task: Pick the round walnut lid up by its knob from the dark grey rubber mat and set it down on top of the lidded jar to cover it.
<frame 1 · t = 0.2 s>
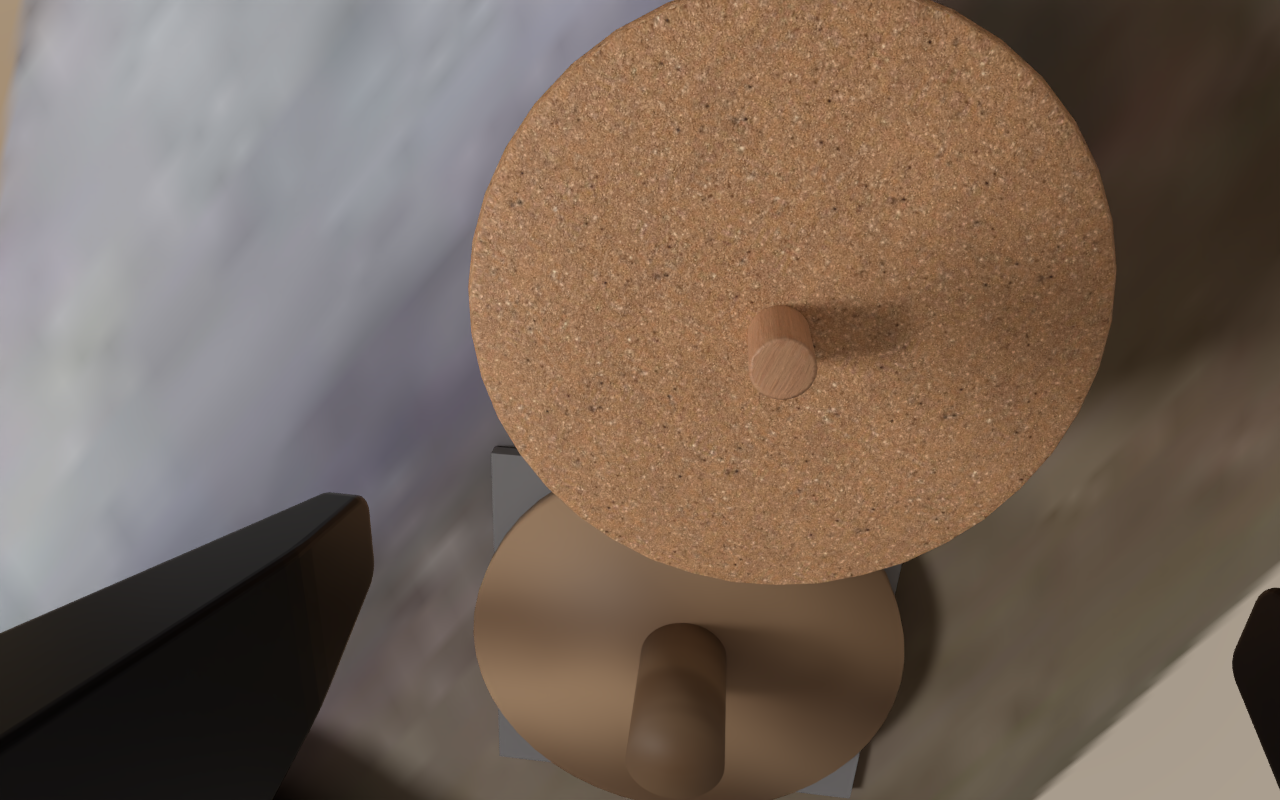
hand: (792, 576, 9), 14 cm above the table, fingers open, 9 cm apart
lid: (685, 639, 27), resting on mat
lidded jar: (764, 220, 21), on the table
mat: (685, 631, 27), on the table
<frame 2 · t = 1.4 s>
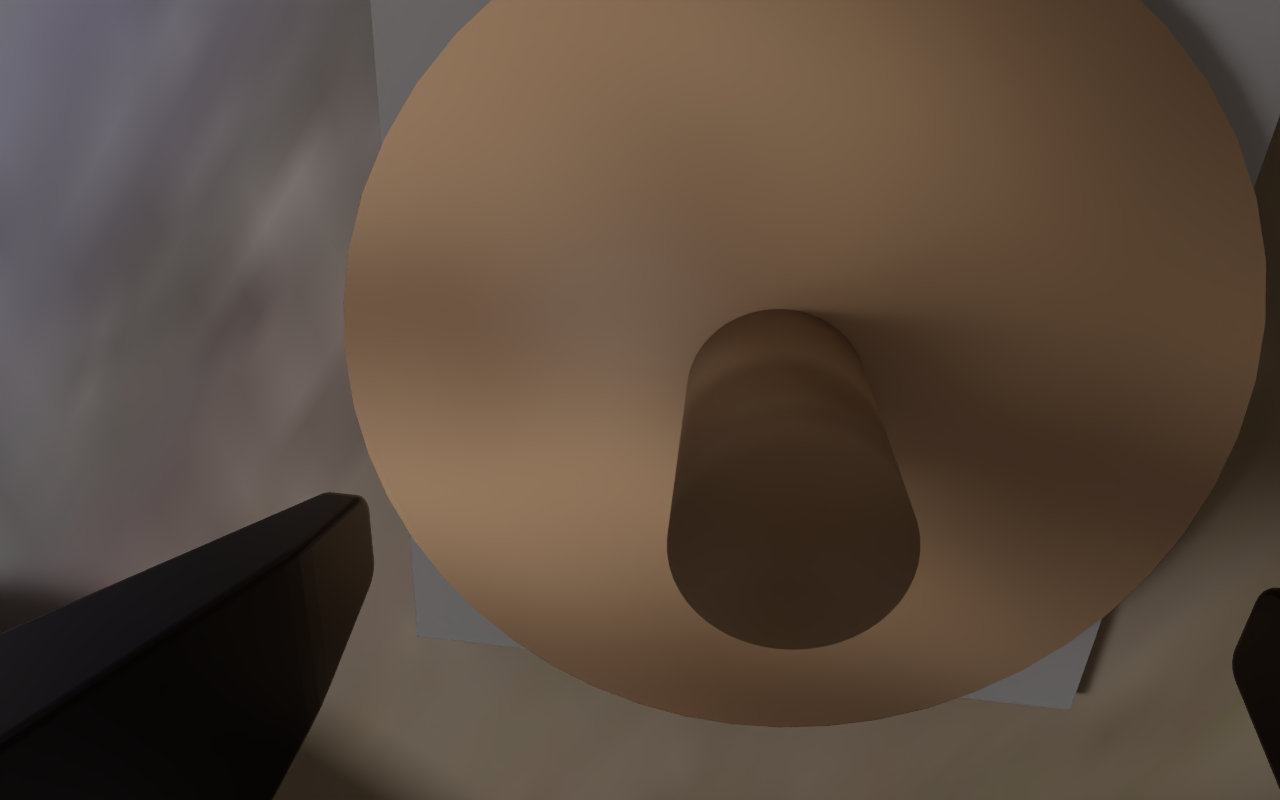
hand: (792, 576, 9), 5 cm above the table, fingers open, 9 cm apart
lid: (773, 372, 13), resting on mat
mat: (772, 363, 14), on the table
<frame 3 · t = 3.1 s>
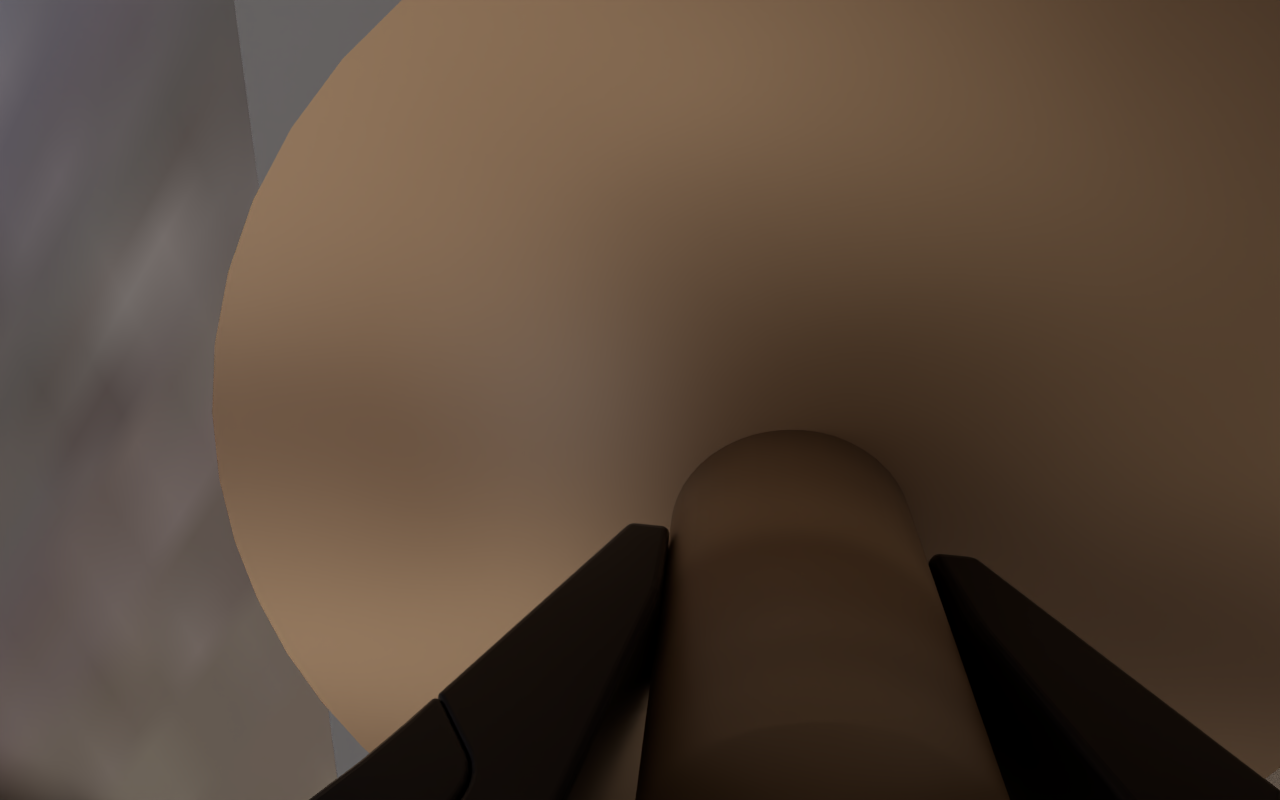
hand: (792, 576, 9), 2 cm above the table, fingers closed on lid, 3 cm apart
lid: (785, 498, 10), resting on mat, touching gripper
mat: (783, 481, 10), on the table
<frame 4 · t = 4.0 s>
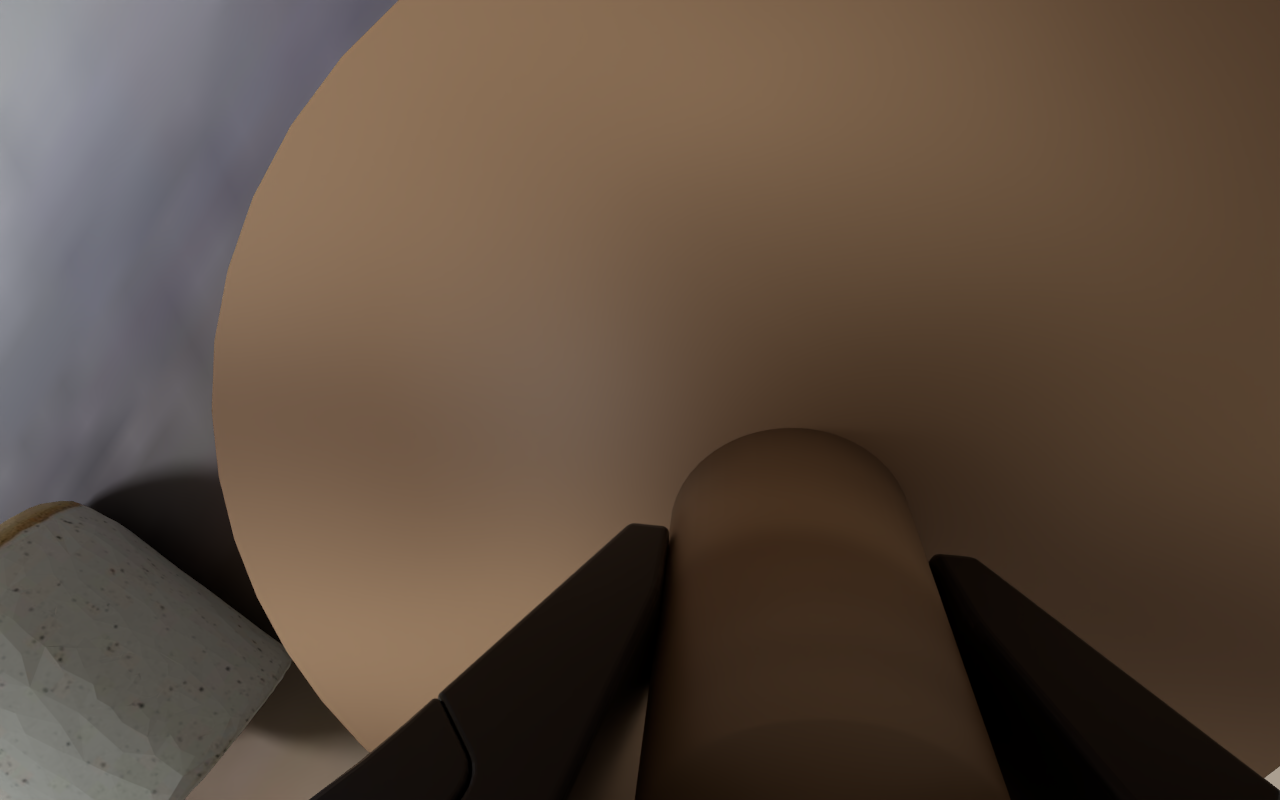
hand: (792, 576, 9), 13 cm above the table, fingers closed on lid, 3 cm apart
lid: (784, 496, 10), point 11 cm above the table, touching gripper
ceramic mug: (154, 622, 27), on the table
when the fingers open (12 cm above the table, at t = 5.2 s): lid stays where it is, resting on lidded jar.
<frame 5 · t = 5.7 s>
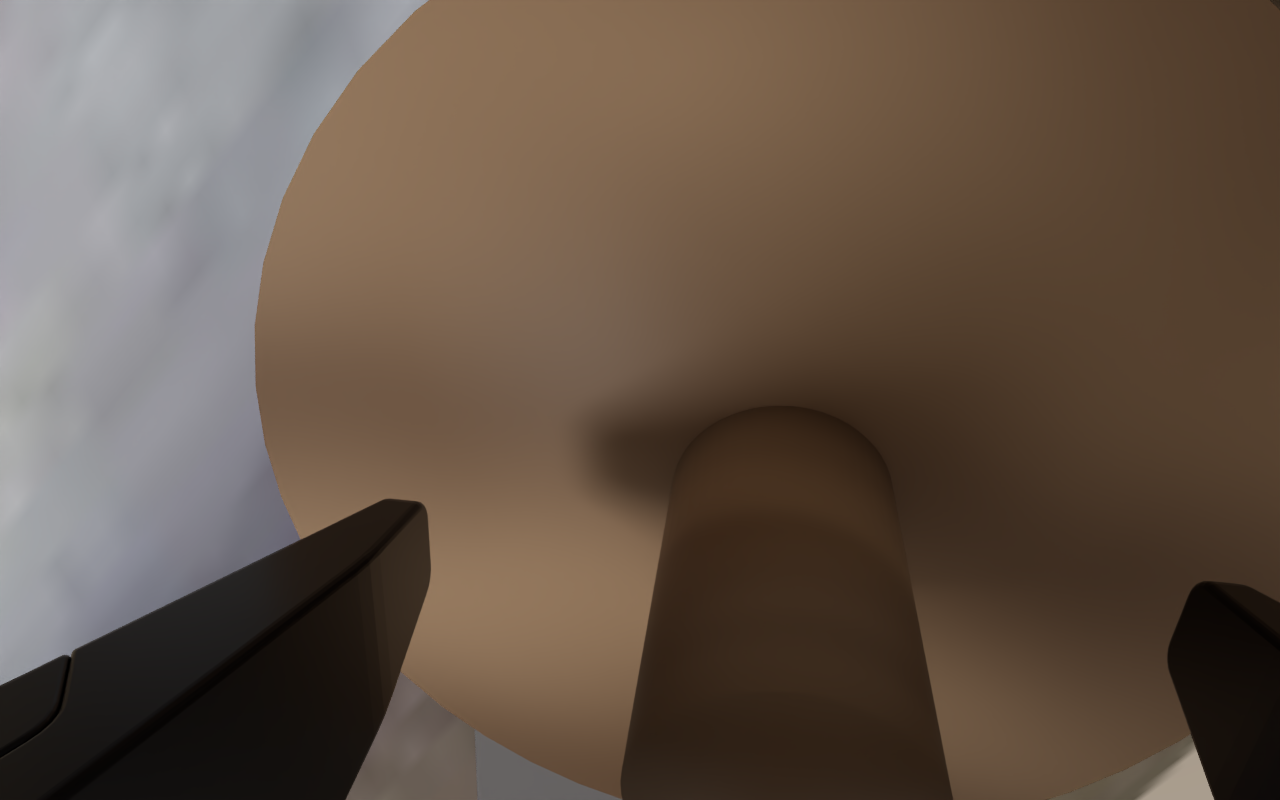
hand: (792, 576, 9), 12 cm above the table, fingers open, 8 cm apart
lid: (779, 461, 11), point 9 cm above the table, tilted 7°, touching lidded jar
mat: (678, 694, 25), on the table
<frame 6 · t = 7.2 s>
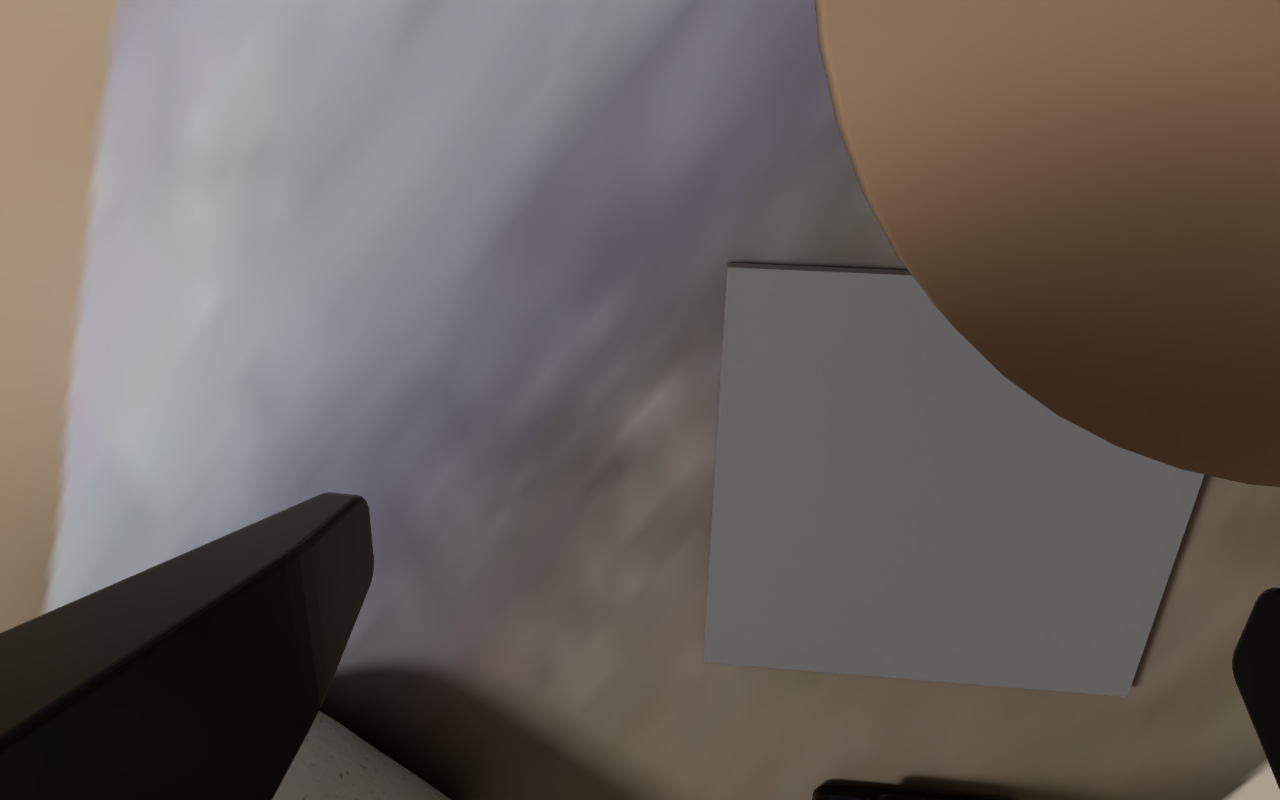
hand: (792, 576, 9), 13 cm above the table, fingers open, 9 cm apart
mat: (943, 494, 22), on the table
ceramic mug: (342, 784, 30), on the table
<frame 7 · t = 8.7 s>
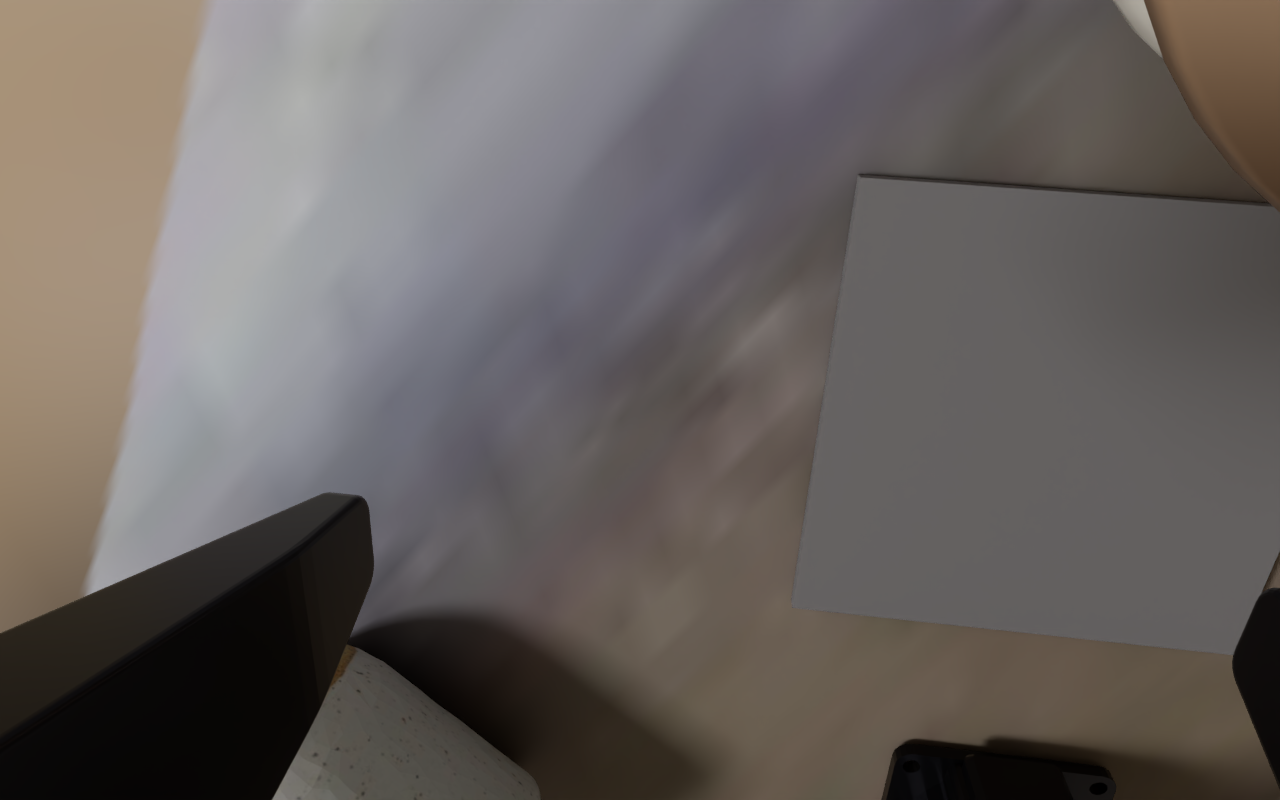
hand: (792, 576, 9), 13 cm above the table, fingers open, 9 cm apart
mat: (1059, 432, 22), on the table
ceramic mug: (388, 740, 29), on the table
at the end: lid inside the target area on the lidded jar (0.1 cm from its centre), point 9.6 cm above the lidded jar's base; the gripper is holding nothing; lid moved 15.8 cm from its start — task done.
